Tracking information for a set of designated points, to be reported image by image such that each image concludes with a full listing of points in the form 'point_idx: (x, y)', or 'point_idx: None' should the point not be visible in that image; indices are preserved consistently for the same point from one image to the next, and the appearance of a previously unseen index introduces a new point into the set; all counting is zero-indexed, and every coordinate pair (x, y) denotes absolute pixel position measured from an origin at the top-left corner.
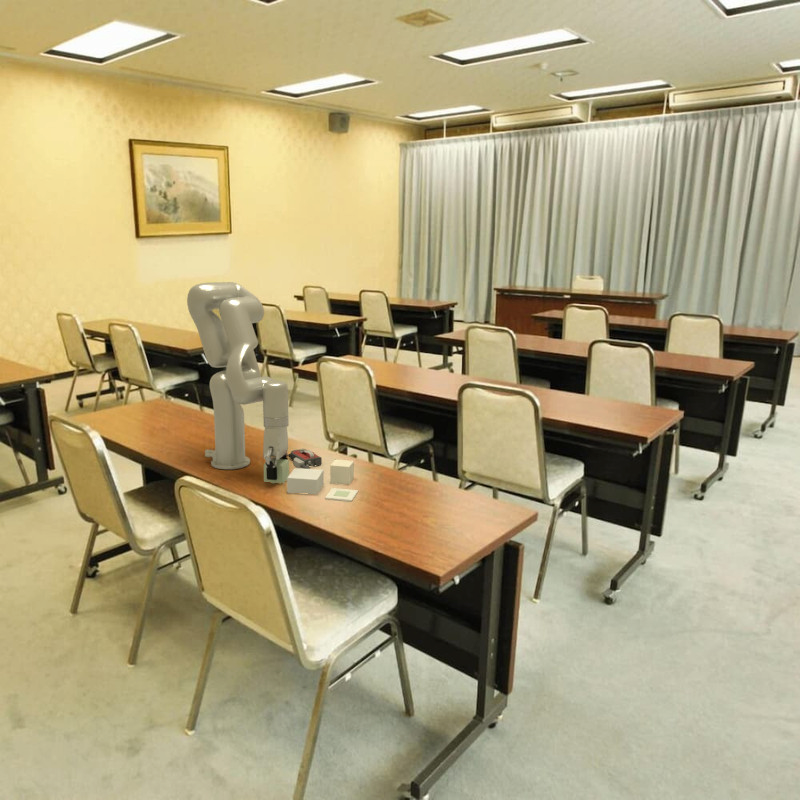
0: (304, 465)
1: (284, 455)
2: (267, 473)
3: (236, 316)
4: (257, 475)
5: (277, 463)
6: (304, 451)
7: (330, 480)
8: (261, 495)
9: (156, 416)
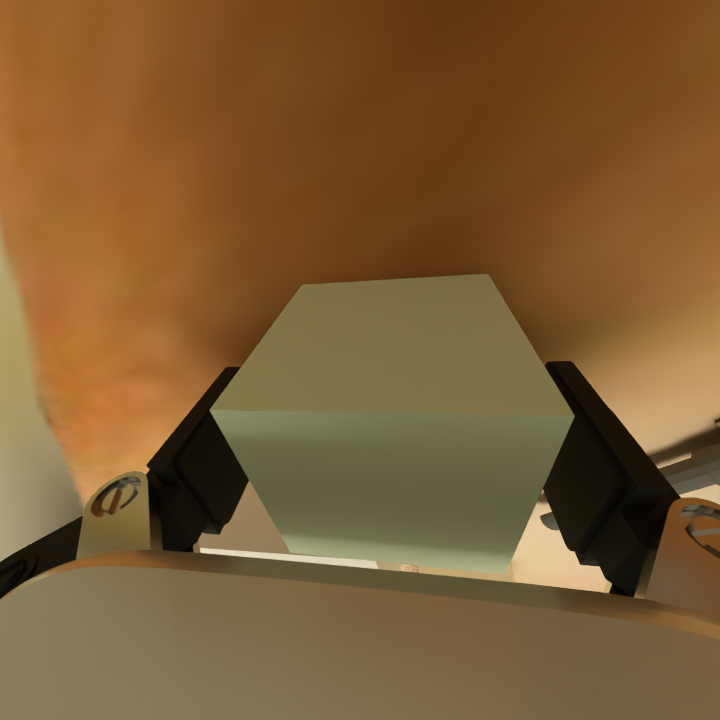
0: (694, 487)
1: (621, 588)
2: (201, 410)
3: None
4: (493, 87)
5: (338, 520)
6: None
7: (419, 567)
8: (103, 363)
9: None
